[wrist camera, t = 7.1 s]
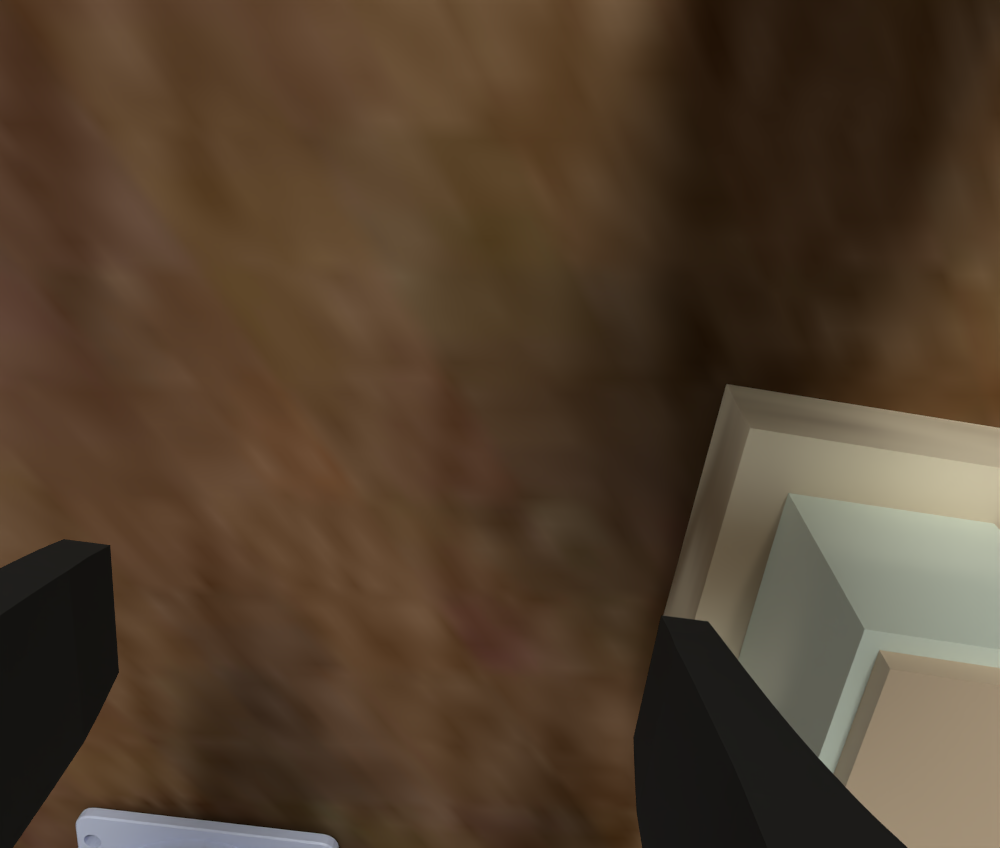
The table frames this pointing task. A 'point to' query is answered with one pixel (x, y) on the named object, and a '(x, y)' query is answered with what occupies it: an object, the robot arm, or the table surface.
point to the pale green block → (889, 660)
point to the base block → (815, 486)
